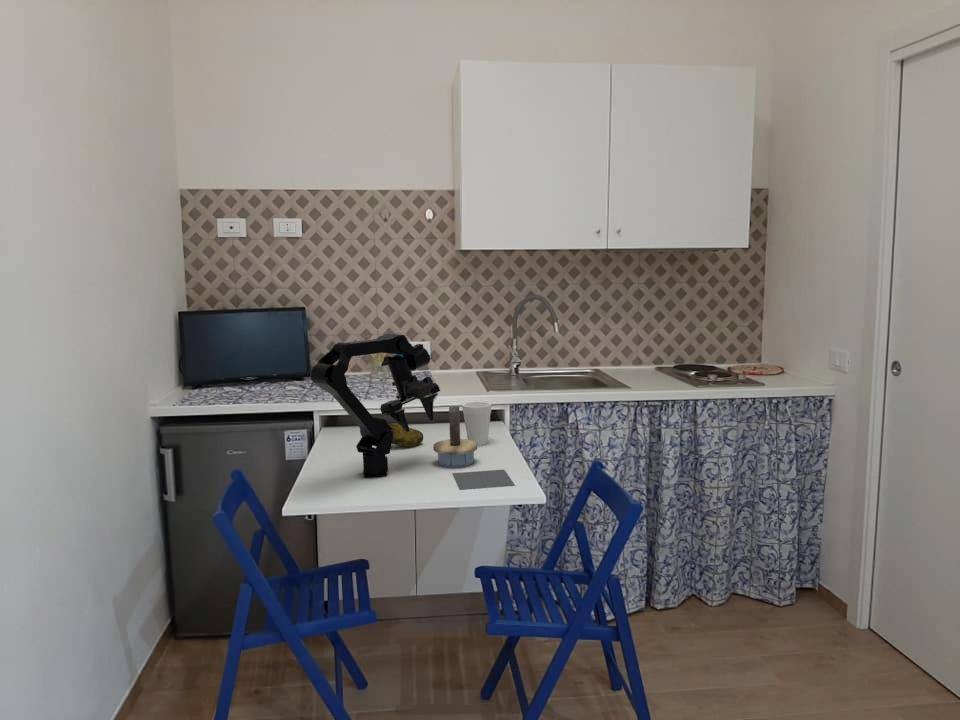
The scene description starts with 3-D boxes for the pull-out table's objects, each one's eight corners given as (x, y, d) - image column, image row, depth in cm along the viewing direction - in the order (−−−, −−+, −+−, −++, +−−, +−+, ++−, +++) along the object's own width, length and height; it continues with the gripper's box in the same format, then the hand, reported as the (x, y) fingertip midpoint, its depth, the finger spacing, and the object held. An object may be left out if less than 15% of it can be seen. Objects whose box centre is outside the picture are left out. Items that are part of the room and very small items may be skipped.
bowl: (440, 469, 212) (440, 454, 212) (437, 459, 222) (436, 445, 222) (475, 466, 214) (475, 451, 213) (470, 457, 224) (470, 443, 223)
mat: (459, 490, 193) (459, 489, 193) (452, 474, 207) (452, 473, 207) (515, 486, 195) (515, 485, 195) (504, 470, 210) (504, 469, 210)
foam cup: (467, 448, 234) (466, 408, 233) (460, 441, 243) (459, 402, 241) (495, 445, 237) (494, 405, 235) (487, 438, 246) (486, 400, 244)
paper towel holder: (435, 456, 210) (434, 413, 208) (431, 444, 223) (429, 404, 221) (480, 452, 212) (479, 410, 210) (473, 441, 225) (472, 401, 223)
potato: (424, 448, 235) (423, 424, 234) (384, 451, 233) (383, 426, 232) (423, 442, 243) (422, 418, 242) (384, 444, 242) (383, 420, 240)
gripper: (393, 383, 201) (412, 436, 203) (442, 361, 213) (459, 412, 215) (371, 387, 210) (389, 438, 211) (420, 366, 222) (437, 415, 223)
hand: (420, 425), depth 215 cm, fingers open, 9 cm apart
